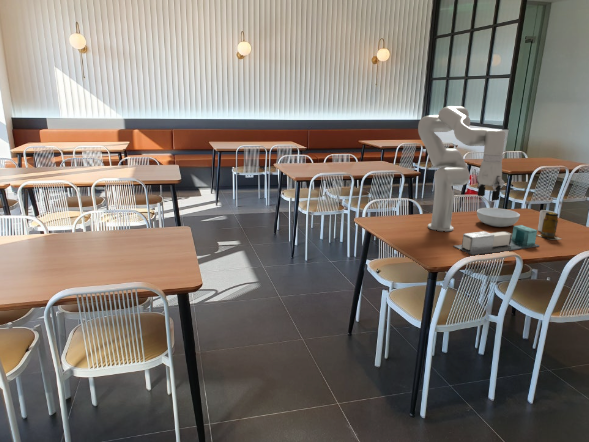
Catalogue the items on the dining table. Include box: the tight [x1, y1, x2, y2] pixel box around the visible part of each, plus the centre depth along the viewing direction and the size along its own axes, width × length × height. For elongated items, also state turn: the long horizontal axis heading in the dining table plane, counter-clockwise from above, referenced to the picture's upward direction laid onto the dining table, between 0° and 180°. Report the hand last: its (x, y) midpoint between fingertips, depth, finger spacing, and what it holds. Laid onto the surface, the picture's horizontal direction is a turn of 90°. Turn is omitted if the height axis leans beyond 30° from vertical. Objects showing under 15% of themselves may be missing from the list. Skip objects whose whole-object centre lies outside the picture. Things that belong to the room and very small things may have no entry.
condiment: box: [537, 211, 562, 241], centre depth 212 cm, size 7×8×12 cm
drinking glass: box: [537, 209, 556, 232], centre depth 223 cm, size 7×7×10 cm
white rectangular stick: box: [462, 231, 512, 250], centre depth 194 cm, size 24×4×5 cm, turn 111°
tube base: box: [452, 224, 540, 256], centre depth 197 cm, size 39×12×7 cm, turn 111°
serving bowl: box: [476, 207, 521, 228], centre depth 232 cm, size 21×21×7 cm
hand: (487, 197), depth 192 cm, fingers open, 9 cm apart
